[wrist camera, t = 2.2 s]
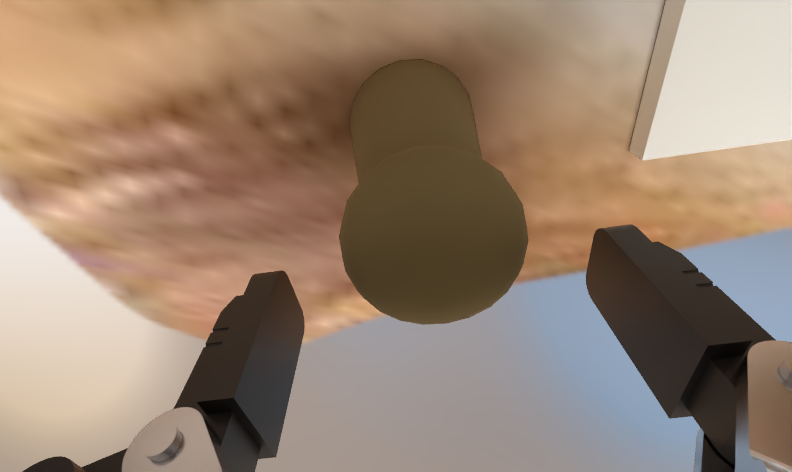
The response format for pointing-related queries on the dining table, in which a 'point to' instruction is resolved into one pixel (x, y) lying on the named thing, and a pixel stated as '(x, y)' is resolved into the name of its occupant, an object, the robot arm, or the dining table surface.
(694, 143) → the board
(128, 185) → the dining table surface
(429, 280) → the olive tall rounded piece
